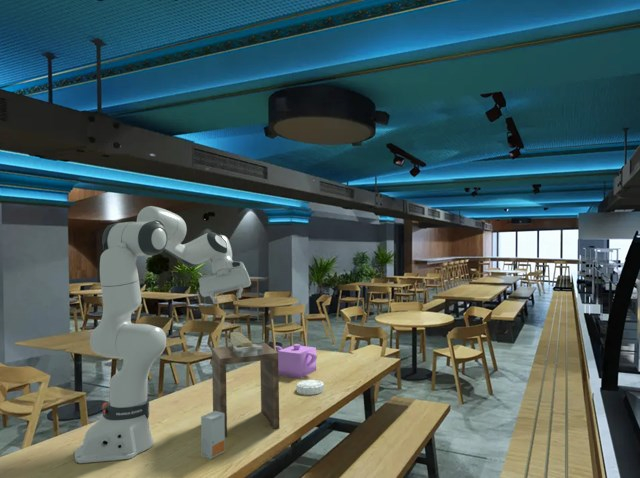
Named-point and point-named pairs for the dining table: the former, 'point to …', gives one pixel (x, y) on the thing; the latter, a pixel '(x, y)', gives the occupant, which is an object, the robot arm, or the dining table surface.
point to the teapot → (296, 360)
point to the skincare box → (212, 434)
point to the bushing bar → (240, 340)
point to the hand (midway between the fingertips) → (227, 300)
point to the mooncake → (310, 387)
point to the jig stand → (268, 377)
